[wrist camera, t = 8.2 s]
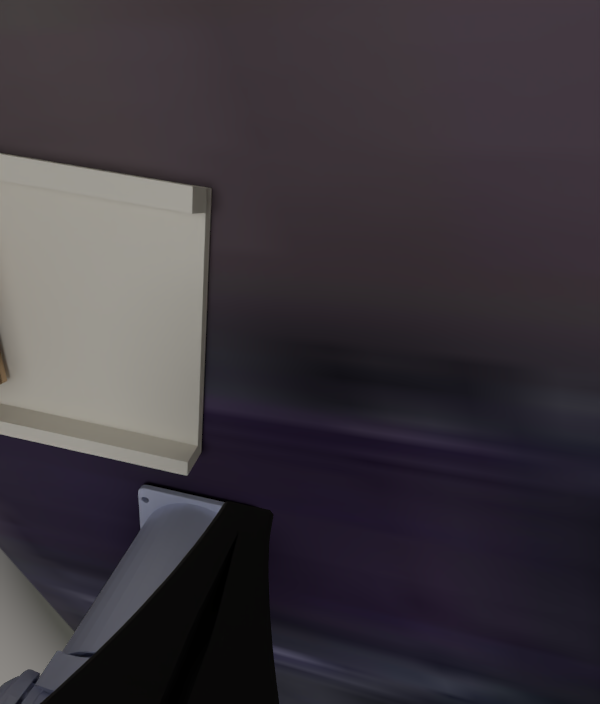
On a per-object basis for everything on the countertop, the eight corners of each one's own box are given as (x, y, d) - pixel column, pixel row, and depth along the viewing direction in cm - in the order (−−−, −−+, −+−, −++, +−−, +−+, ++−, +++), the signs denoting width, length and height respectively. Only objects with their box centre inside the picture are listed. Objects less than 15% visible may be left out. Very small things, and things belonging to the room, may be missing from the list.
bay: (201, 452, 21) (187, 475, 20) (-92, 388, 23) (-130, 405, 21) (211, 188, 15) (192, 186, 13) (-193, 120, 16) (-261, 110, 15)
